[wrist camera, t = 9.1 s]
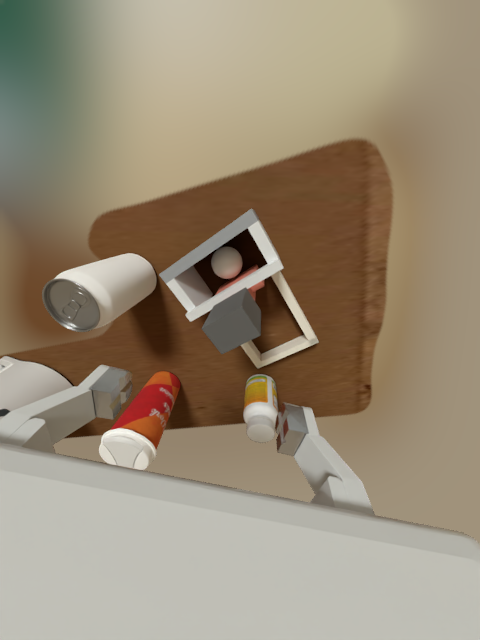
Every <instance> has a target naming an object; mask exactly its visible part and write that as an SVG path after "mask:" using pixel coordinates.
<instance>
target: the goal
mask: <svg viewBox="0 0 480 640" xmlns="http://www.w3.org/2000/svg"><path fill="white" fill-rule="evenodd" d="M247 228H248V230H249V232H250V233H251V235H252V237H253V239H254V240H255V242H256V244H257V246H258V247H259V249H260V251H261V253H262V254H263V256H264V258H265V260H266V261H267V263H268V264H266V265H265V266H263V267H261V268H260V269H258V270H256V271H255V272H253V273H251V274H250V275H248V276H246V277H245V278H243V279H241V280H240V281H238V282H236V283H235V284H233V285H231V286H230V287H228V288H226V289H225V290H223V291H221V292H220V293H218V294H216V295H215V296H213V297H211V296H212V295H213V293H212V292H211V290H210V289H209V288H208V286H207V285H206V283H205V282H204V280H203V279H202V278H201V276H200V275H199V273H198V272H197V271H196V269H195V268H194V266H193V265H194V264H195V263H197V262H198V261H200V260H201V259H203V258H204V257H206V256H207V255H209V254H210V253H212V252H213V251H214V250H216V249H217V248H219V247H220V246H222V245H223V244H225V243H226V242H228V241H229V240H231V239H232V238H233V237H235V236H236V235H238V234H239V233H241V232H242V231H244V230H245V229H247ZM281 269H283V265H282V263H281V260H280V258H279V255H278V253H277V251H276V249H275V248H274V246H273V244H272V242H271V240H270V238H269V237H268V235H267V233H266V231H265V229H264V227H263V225H262V224H261V222H260V220H259V218H258V216H257V214H256V212H255V211H254V210H253V209H250V210H249V211H248V212H246V213H245V214H243V215H242V216H241V217H239V218H238V219H236V220H235V221H234V222H232V223H231V224H229V225H228V226H226V227H225V228H224V229H222V230H221V231H219V232H218V233H217V234H215V235H214V236H212V237H211V238H210V239H208V240H207V241H205V242H204V243H203V244H201V245H200V246H198V247H197V248H196V249H194V250H193V251H191V252H190V253H189V254H187V255H186V256H184V257H183V258H182V259H180V260H179V261H177V262H176V263H175V264H173V265H172V266H170V267H169V268H168V269H166V270H165V271H163V272H162V273H160V274H159V275H160V277H161V278H162V279H163V280H164V282H165V283H166V284H167V286H168V287H169V288H170V289H171V291H172V292H173V293H174V294H175V296H176V297H177V298H178V300H179V301H180V302H181V303H182V305H183V306H184V307H185V309H186V310H187V311H188V312H187V313H186V315H185V316H186V317H187V318H188V319H189V321H190V322H191V321H193V320H195V319H196V318H198V317H200V316H202V315H203V314H205V313H207V312H209V311H210V310H212V308H213V306H214V305H216V304H218V303H219V302H221V301H223V300H225V299H226V298H228V297H230V296H231V295H233V294H235V293H237V292H238V291H240V290H242V289H243V288H245V287H246V288H247V289H248V288H250V287H252V286H254V285H255V284H257V283H259V282H261V281H262V280H264V279H266V278H267V277H269V276H271V275H273V274H274V273H276V272H278V271H280V270H281Z"/></svg>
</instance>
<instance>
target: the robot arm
mask: <svg viewBox="0 0 480 640" xmlns="http://www.w3.org/2000/svg"><path fill="white" fill-rule="evenodd" d="M131 378H132V372H131V371H128V370H123V369H119V368H115V367H110V366H105V365H101V366H99V367H98V368H96V369H95V370H94V371H93V372H92V373H91V374H90V375H89V376H88V377H87V378H86V379H85V380H84V381H83V382H82V383H81V384H80V385H79V386H78V387H75V386H74V387H73V386H72V385H71V384H70V383H69V382H68V381H67V380H66V379H65V378H64V377H63V376H62V375H60V374H59V373H57V372H56V371H54V370H52V369H50V368H48V367H46V366H44V365H41V364H38V363H33V362H24V361H19V360H17V359H14V358H11V357H8V356H4V357H3V358H1V359H0V640H480V543H479V542H477V541H476V540H475V539H474V538H472V537H471V536H469V535H467V534H464V533H462V532H458V531H454V530H449V529H444V528H438V527H433V526H428V525H423V524H418V523H413V522H407V521H402V520H397V519H392V518H386V517H381V516H376V515H375V514H374V511H373V509H372V506H371V504H370V501H369V499H368V496H367V494H366V491H365V489H364V486H363V484H362V482H361V480H360V479H359V478H358V477H357V476H356V475H355V473H354V472H353V471H352V470H351V469H350V468H349V467H348V465H347V464H346V463H345V462H344V461H343V460H342V458H341V457H340V456H339V455H338V454H337V453H336V452H335V450H334V449H333V448H332V447H331V446H330V445H329V444H328V442H327V441H326V440H325V439H324V438H323V437H321V436H320V435H319V431H318V428H317V425H316V421H315V418H314V414H313V411H312V409H311V408H308V407H303V406H298V405H293V404H288V403H283V404H282V405H281V407H280V408H281V412H279V413H278V415H277V417H276V423H275V429H276V433H277V434H278V437H277V450H278V453H282V454H287V455H291V456H294V458H295V460H296V462H297V463H298V465H299V467H300V469H301V470H302V472H303V474H304V475H305V477H306V479H307V481H308V482H309V484H310V486H311V488H312V489H313V491H314V493H315V494H316V495H315V496H314V498H313V499H312V501H311V502H310V503H309V502H303V501H299V500H293V499H288V498H283V497H278V496H273V495H268V494H262V493H257V492H252V491H246V490H242V489H237V488H231V487H226V486H220V485H216V484H210V483H206V482H200V481H195V480H190V479H185V478H179V477H174V476H169V475H164V474H159V473H154V472H148V471H143V470H138V469H133V468H128V467H123V466H117V465H112V464H107V463H102V462H96V461H92V460H86V459H81V458H76V457H71V456H66V455H61V454H56V453H55V450H54V447H53V445H54V444H55V443H57V442H58V441H60V440H61V439H63V438H65V437H66V436H68V435H69V434H71V433H72V432H74V431H76V430H77V429H79V428H80V427H82V426H83V425H85V424H86V423H88V422H90V421H91V420H93V419H94V418H96V417H101V418H107V419H114V418H115V417H116V415H117V414H118V412H119V411H120V409H121V404H122V403H124V402H126V401H127V399H128V398H129V396H130V394H131V392H132V387H133V384H132V382H131V381H130V379H131Z"/></svg>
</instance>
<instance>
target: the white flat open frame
mask: <svg viewBox="0 0 480 640" xmlns="http://www.w3.org/2000/svg"><path fill="white" fill-rule="evenodd" d="M271 277H272V278H273V280H274V282H275V284H276V285H277V287H278V289H279V291H280V292H281V294H282V296H283V298H284V299H285V301H286V303H287V305H288V306H289V308H290V310H291V312H292V313H293V315H294V317H295V318H296V320H297V322H298V324H299V325H300V327H301V329H302V331H303V332H304V335H302V336H300V337H298V338H296V339H293V340H291V341H289V342H287V343H285V344H282V345H280V346H278V347H276V348H273V349H271V350H269V351H267V352H265V353H262V354H261V353H260V352H259V351H258V349H257V348H256V346H255V345H254V343H253V342H252V340H250V341H248V342H246V343H244V344H242V345H241V347H242V348H243V349H244V351H245V352H246V353H247V355H248V356H249V358H250V359H251V360H252V362H253V363H254V364H255V366H256V367H257V369H258V368H261V367H263V366H265V365H268V364H270V363H272V362H275V361H277V360H279V359H281V358H284V357H286V356H288V355H291V354H293V353H295V352H298V351H300V350H302V349H305V348H307V347H309V346H312V345H314V344H316V343H319V342H318V339H317V337H316V335H315V333H314V331H313V329H312V328H311V326H310V324H309V322H308V320H307V319H306V317H305V315H304V313H303V311H302V310H301V308H300V306H299V304H298V302H297V301H296V299H295V297H294V295H293V293H292V291H291V290H290V288H289V286H288V284H287V282H286V281H285V279H284V277H283V275H282V273H281V272H280V271H278V272H276V273H274V274H273V275H271Z"/></svg>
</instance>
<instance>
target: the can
mask: <svg viewBox="0 0 480 640" xmlns="http://www.w3.org/2000/svg"><path fill="white" fill-rule="evenodd" d="M156 281H157V280H156V274H155V271H154V269H153V267H152V266H151V264H150V263H149V262H148V261H147V260H145V259H144V258H143V257H141V256H139V255H136V254H131V253H128V254H123V255H119V256H115V257H112V258H108V259H105V260H101V261H98V262H94V263H91V264H87V265H84V266H80V267H77V268H74V269H70V270H67V271H64V272H62V273H60V274H59V275H58V276H56V278H55V279H53V280H51V281H49V282H48V283H47V284H46V285H45V286H44V288H43V292H42V298H43V303H44V305H45V307H46V309H47V311H48V312H49V314H50V315H51V316H52V317H53V318H54V319H55V320H56V321H57V322H58V323H60V324H61V325H62V326H64V327H66V328H68V329H70V330H73V331H77V332H87V331H90V330H92V329H94V328H99V327H103V326H105V325H107V324H108V323H110V322H111V321H113V320H114V319H116V318H117V317H119V316H120V315H121V314H123V313H124V312H126V311H127V310H129V309H130V308H131V307H133V306H134V305H136V304H137V303H138V302H140V301H141V300H143V299H144V298H145V297H147V296H148V295H149V294H151V293H152V292H153V290H154V289H155V287H156Z"/></svg>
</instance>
